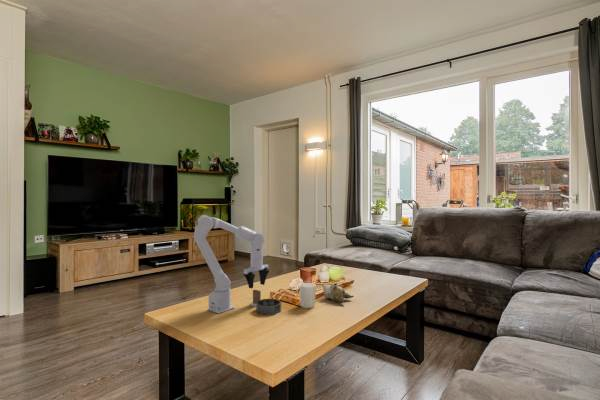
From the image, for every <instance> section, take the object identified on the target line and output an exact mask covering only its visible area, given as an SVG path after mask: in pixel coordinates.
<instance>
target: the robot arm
mask: <svg viewBox="0 0 600 400" xmlns="http://www.w3.org/2000/svg"><path fill="white" fill-rule="evenodd" d="M212 228H213V229H223V230H225V231H228V232H231V233H233V234H235V237H236V238H238V239H240V240H242V241H245V242H247V243H250V267H248V268H244V269H243V276H244V278H245V280H246V282H247V286H248V288H249V289H253V288H254V281H255V276H256V274H254V273H255V272H258V274H259V283H260V285H263V286H264V285H265V283H266V280H267V277H268V274H269V273H270V267H269V266H270V265H269V264H267V263H266V264H264V263H263V262H264V261H263V260H264V257H263V255H264V253H263V251H264V248H263V244H264V243H265V238H264V235H263V234H261V233H259V232H257V231H256V230H254V229H253V230H252V229H250V228H247V226H246V225H240V226H236V225H233V224H231V223H229V222H226V221H225V220H222V219H220V218H217V217H213V216H209V215H208V214H207V215H206V214H203V215H200V216H199V217H198V219H197V220H196V222H195V227H194V234H193V235H194V236H193V240H194V242H195V244H196V245H197V248H198V249H199V251H200V253H201V255H202V257H203V259H204V261H205V262H206V264H207V266H208V268H209V270H210V271H211V273H212V275H213V278H214V279H213V280H214V284H215V286H214V290H213V291H212V292H210V293H209V295H208V308H207V311H210V312H213V313H214V314H215V313H216V314H220V313H221V314H222V313H225V312H227V311H229V310H233V309H235V306H233V305H231V286H232V282H231V279H230V278H229V277H228V275H227V274H226V273H224V271H223V269H222V267H221V264H220V263H219V262H218V260H217V257H216V256H215V253H214V252H213V250H212V249H211V246H210V244H209V242H208V240H207V237H208V235H209V232H210V231H211V230H212Z"/></svg>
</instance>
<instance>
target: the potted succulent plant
mask: <svg viewBox="0 0 600 400" xmlns="http://www.w3.org/2000/svg"><path fill="white" fill-rule="evenodd" d="M322 286H323V287H322V288H323V289H322V290H323V297H324V299H325V300H327V299H331V300H333V301H336V302H337V303H341V304H342V303H345V302H346V300H345V299H347V300H348V299H352V298H355V297H354V295H351V294H349V293H348V292H346V290H345V289H344V288H343V287H342V286H340V285H338V284H337V283H332V284H331V285H329V284H326V283H323V285H322Z"/></svg>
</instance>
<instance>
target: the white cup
mask: <svg viewBox="0 0 600 400" xmlns="http://www.w3.org/2000/svg"><path fill="white" fill-rule="evenodd" d="M298 287H299V300H300V301H299V303H300V304H299V306H300V307H301V308H304V309H311V308H314V307H315V305H316V291H317V289H316V288H317V285H316V284H315V283H314V282H301V283H299V285H298Z"/></svg>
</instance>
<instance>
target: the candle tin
mask: <svg viewBox="0 0 600 400" xmlns="http://www.w3.org/2000/svg"><path fill="white" fill-rule="evenodd" d="M255 311H256V312H257V313H258V314H259V315H260V314H261V315H266V316H269V315H277V314H279V313H280V312H281V311H282V301H281V300H280V299H277V298H264V299H261V300H259V301H258V302H257V303H256V307H255Z"/></svg>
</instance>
